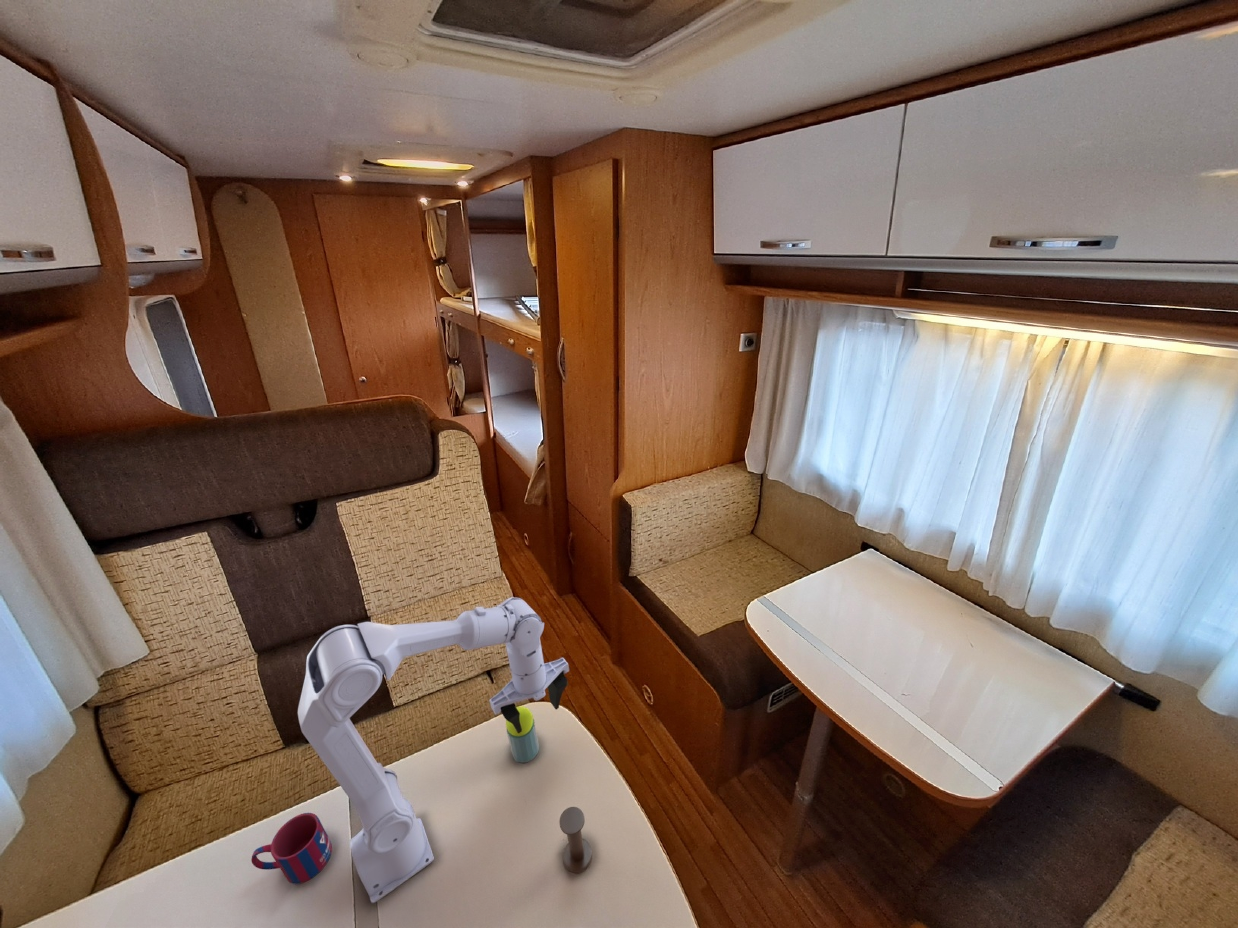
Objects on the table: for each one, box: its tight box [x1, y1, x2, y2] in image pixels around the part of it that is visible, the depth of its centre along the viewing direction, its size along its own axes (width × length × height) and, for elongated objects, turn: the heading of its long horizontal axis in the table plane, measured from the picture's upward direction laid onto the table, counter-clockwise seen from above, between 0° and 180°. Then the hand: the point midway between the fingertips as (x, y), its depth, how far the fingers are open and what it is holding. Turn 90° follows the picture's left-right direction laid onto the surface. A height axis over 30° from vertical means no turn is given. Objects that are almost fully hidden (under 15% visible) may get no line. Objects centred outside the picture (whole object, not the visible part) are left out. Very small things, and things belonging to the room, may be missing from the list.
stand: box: [558, 806, 593, 874], centre depth 75 cm, size 5×5×10 cm
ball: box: [505, 705, 534, 737], centre depth 91 cm, size 5×5×5 cm
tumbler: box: [506, 718, 540, 764], centre depth 93 cm, size 5×5×7 cm
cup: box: [250, 812, 333, 885], centre depth 78 cm, size 7×10×7 cm
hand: (536, 716), depth 89 cm, fingers open, 7 cm apart
